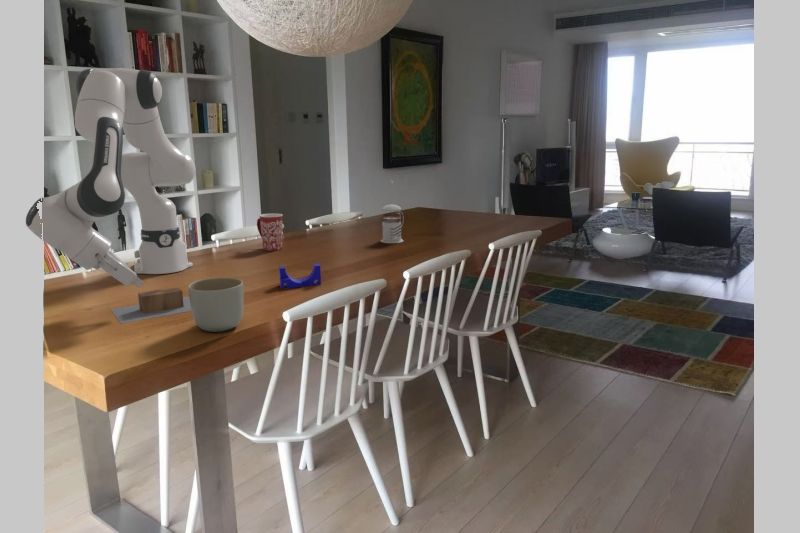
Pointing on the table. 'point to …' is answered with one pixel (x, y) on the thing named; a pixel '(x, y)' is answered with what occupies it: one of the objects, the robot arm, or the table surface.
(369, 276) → the table surface
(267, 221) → the mug
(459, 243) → the table surface
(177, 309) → the mat
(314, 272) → the blue cradle bracket
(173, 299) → the walnut block
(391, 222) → the french press
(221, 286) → the planter
